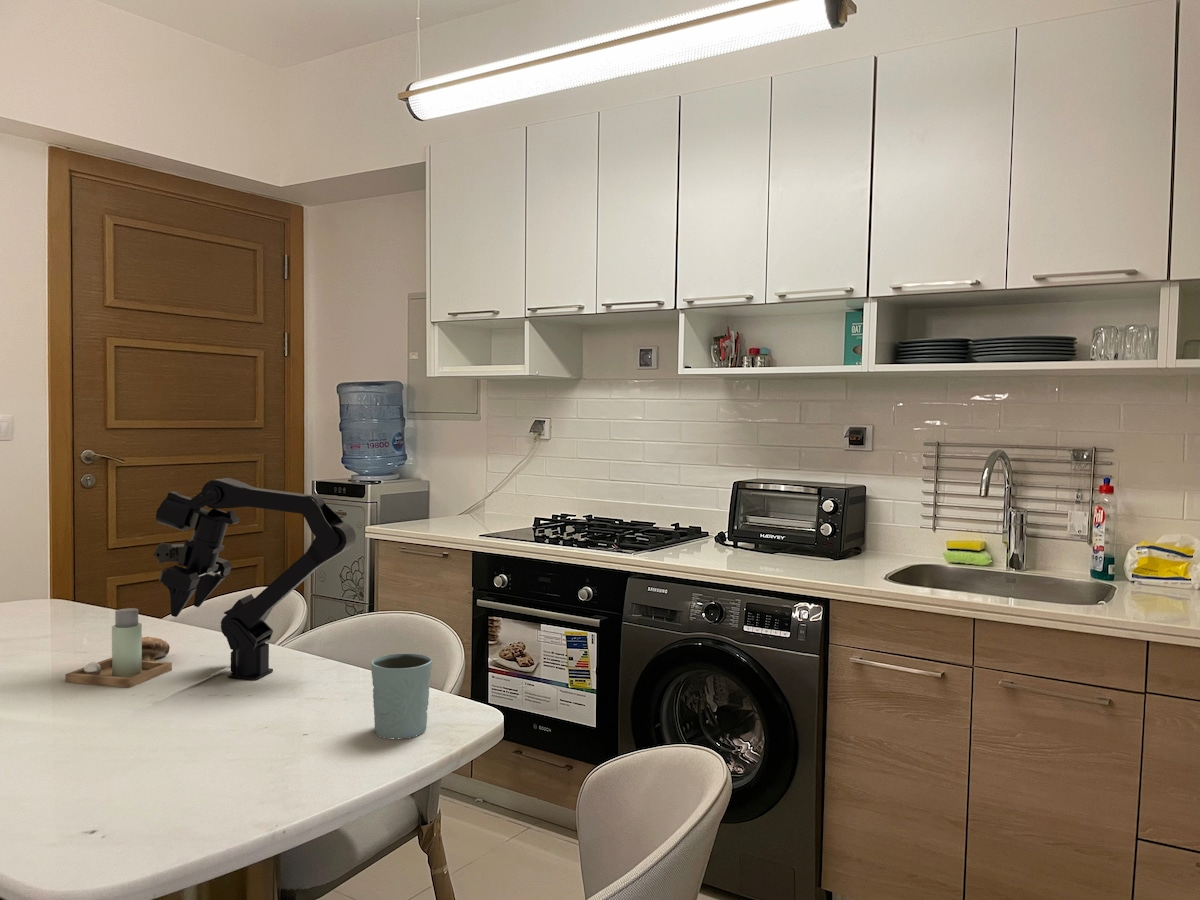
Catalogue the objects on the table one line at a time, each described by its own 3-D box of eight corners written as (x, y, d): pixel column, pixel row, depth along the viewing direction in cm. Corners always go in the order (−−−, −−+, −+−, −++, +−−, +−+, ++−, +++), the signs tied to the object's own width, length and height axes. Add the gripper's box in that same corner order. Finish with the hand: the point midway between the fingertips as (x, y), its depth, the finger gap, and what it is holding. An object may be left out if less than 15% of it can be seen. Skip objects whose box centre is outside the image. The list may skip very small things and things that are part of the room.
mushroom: (154, 655, 183) (152, 627, 186) (118, 669, 183) (117, 641, 186) (178, 664, 190) (176, 637, 193) (143, 678, 190) (142, 650, 193)
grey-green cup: (370, 742, 146) (371, 670, 146) (369, 722, 156) (370, 653, 156) (433, 738, 149) (434, 666, 149) (428, 717, 159) (429, 650, 158)
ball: (105, 676, 176) (105, 661, 176) (93, 680, 173) (93, 665, 173) (91, 675, 176) (91, 660, 176) (80, 679, 173) (80, 664, 173)
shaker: (146, 675, 176) (146, 610, 176) (118, 681, 172) (118, 614, 172) (135, 670, 180) (134, 606, 179) (107, 676, 176) (107, 610, 175)
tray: (171, 674, 181) (171, 662, 181) (130, 692, 169) (130, 679, 169) (110, 669, 184) (110, 657, 183) (65, 687, 172) (65, 674, 172)
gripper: (192, 520, 191) (171, 590, 191) (145, 531, 172) (122, 608, 173) (241, 537, 191) (220, 606, 191) (199, 549, 172) (176, 626, 173)
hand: (185, 611), depth 182 cm, fingers open, 9 cm apart
